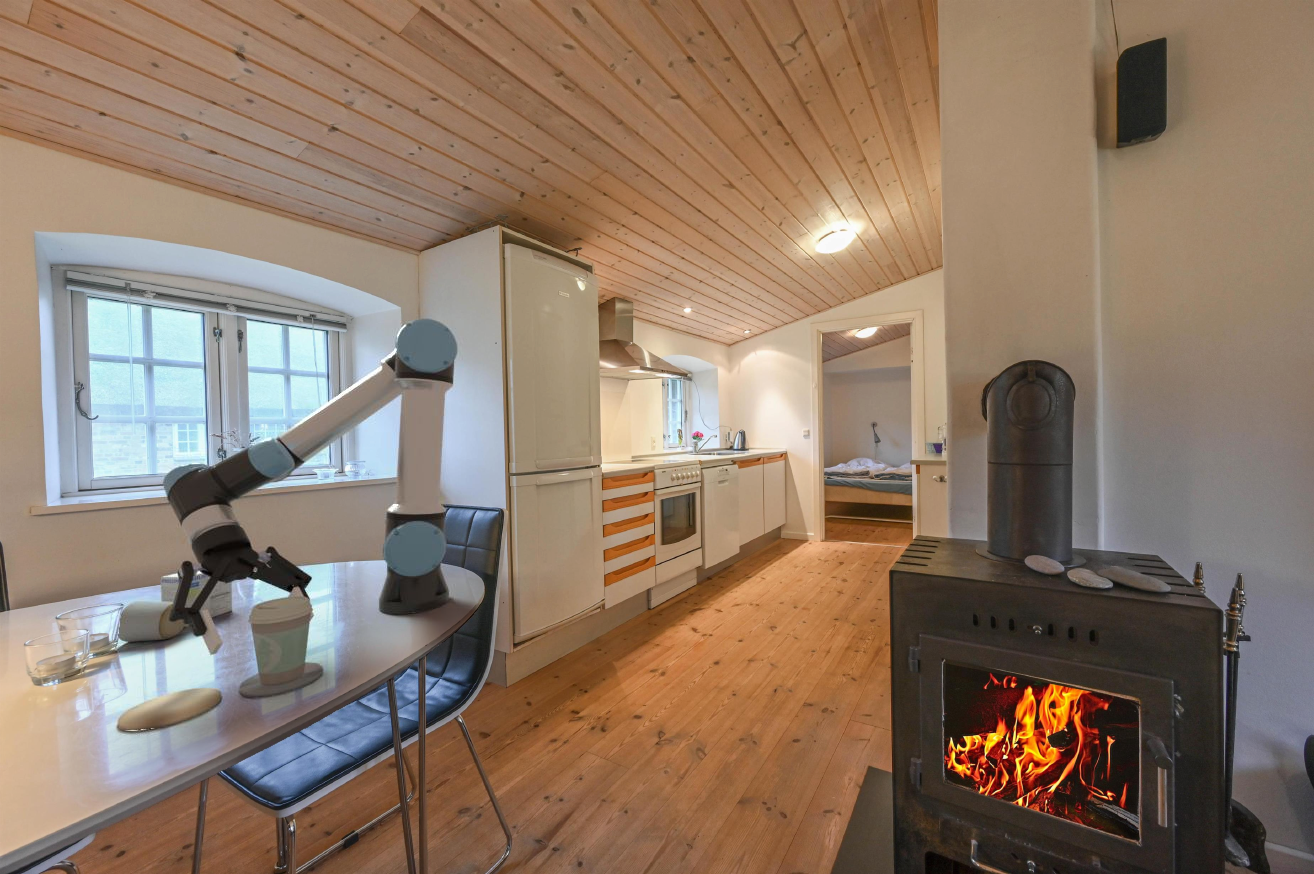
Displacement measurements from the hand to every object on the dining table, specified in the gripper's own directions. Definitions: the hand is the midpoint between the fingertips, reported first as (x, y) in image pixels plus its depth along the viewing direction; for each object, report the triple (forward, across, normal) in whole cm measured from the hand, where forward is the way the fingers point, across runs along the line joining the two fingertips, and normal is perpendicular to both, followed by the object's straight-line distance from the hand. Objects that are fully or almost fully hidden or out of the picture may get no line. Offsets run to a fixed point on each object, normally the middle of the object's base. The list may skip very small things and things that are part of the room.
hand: (266, 633), depth 86 cm
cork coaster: (+4, +12, -6) cm, 14 cm away
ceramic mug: (-24, -1, -35) cm, 42 cm away
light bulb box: (-28, -11, -39) cm, 50 cm away
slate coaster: (+8, 0, -2) cm, 8 cm away
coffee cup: (+8, 0, -2) cm, 8 cm away
